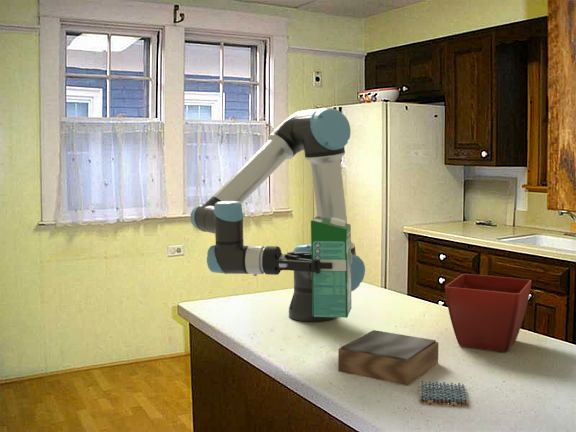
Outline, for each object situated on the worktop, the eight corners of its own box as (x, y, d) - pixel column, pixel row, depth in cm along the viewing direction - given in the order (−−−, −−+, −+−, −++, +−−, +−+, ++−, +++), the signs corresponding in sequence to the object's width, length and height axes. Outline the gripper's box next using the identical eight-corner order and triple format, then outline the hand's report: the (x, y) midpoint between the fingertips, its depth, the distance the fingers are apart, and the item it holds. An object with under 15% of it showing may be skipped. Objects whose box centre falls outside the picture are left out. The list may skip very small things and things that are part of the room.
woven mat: (418, 407, 140) (418, 397, 140) (418, 388, 150) (418, 379, 150) (469, 410, 138) (470, 400, 138) (466, 391, 148) (466, 382, 148)
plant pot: (517, 358, 169) (519, 293, 167) (442, 348, 178) (443, 286, 176) (530, 339, 185) (532, 279, 183) (461, 330, 195) (462, 273, 193)
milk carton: (347, 317, 170) (346, 220, 167) (312, 316, 172) (310, 219, 169) (351, 308, 179) (350, 215, 176) (318, 307, 181) (316, 215, 177)
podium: (338, 371, 161) (338, 346, 160) (372, 351, 176) (372, 329, 175) (408, 385, 151) (408, 359, 150) (438, 363, 166) (438, 340, 165)
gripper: (275, 266, 189) (355, 268, 183) (253, 282, 168) (342, 285, 163) (275, 240, 188) (354, 240, 183) (252, 253, 167) (341, 254, 162)
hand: (348, 261), depth 173 cm, fingers closed on milk carton, 9 cm apart
